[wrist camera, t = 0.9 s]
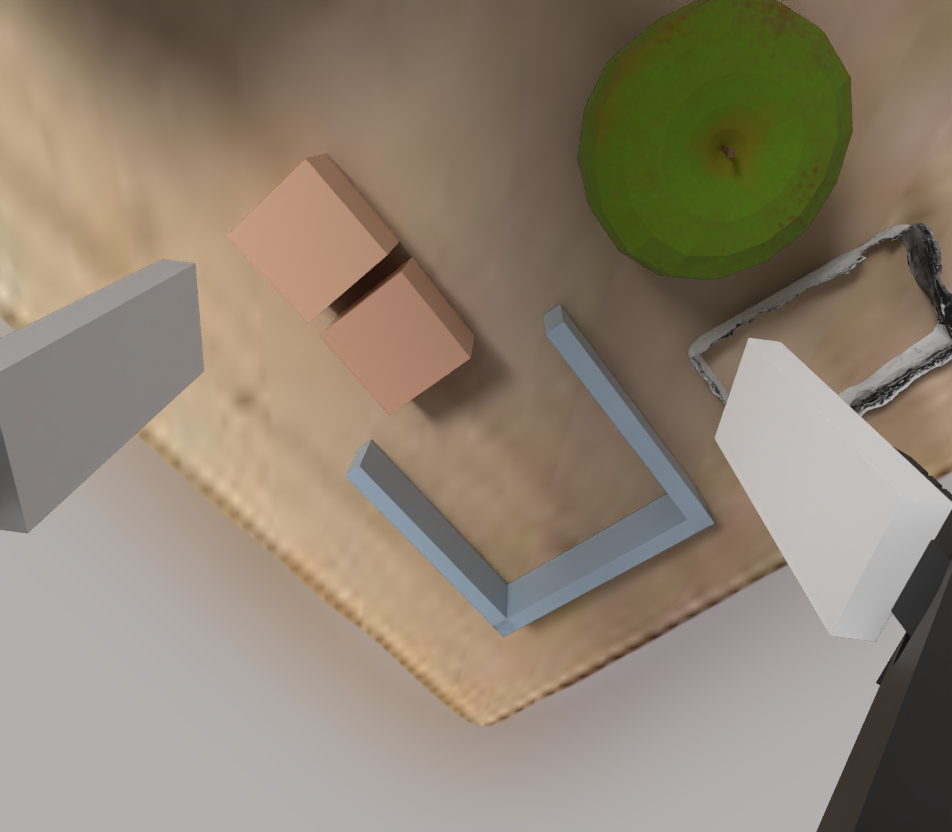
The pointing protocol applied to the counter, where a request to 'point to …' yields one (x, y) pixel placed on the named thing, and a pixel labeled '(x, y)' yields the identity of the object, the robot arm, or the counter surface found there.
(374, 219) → the terracotta tile
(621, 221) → the apple
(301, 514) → the counter surface
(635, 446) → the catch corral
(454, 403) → the counter surface
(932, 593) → the robot arm
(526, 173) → the counter surface
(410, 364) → the terracotta tile
